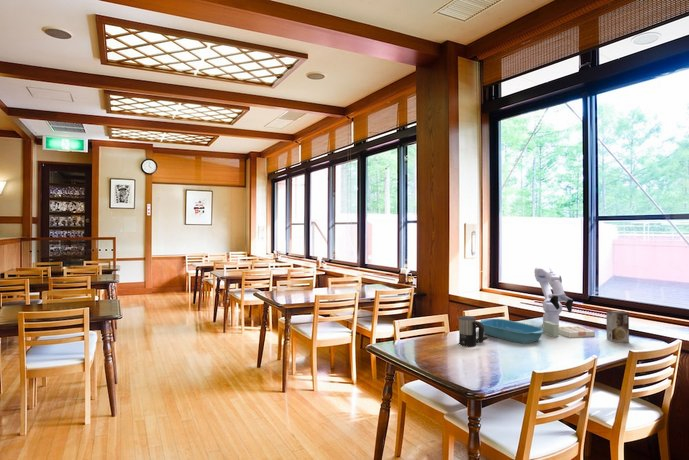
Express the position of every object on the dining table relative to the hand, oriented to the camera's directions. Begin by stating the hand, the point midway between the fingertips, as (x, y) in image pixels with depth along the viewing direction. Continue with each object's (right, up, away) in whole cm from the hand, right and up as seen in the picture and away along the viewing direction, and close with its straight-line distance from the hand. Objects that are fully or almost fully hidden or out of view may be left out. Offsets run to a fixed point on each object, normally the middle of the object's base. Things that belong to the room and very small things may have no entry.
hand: (564, 310), depth 250 cm
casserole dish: (-31, -16, -1) cm, 35 cm away
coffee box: (+25, -15, -10) cm, 31 cm away
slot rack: (+8, -15, +5) cm, 18 cm away
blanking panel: (-6, -15, +4) cm, 17 cm away
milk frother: (-57, -16, -15) cm, 61 cm away
